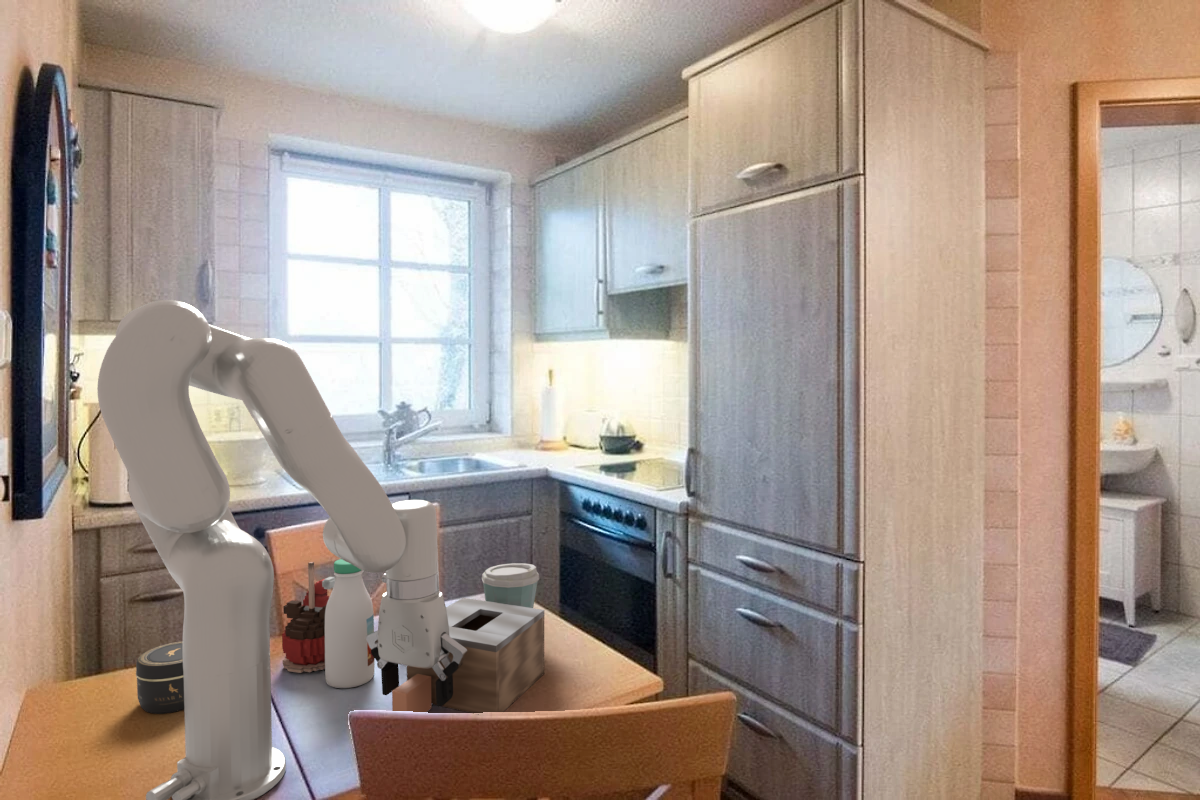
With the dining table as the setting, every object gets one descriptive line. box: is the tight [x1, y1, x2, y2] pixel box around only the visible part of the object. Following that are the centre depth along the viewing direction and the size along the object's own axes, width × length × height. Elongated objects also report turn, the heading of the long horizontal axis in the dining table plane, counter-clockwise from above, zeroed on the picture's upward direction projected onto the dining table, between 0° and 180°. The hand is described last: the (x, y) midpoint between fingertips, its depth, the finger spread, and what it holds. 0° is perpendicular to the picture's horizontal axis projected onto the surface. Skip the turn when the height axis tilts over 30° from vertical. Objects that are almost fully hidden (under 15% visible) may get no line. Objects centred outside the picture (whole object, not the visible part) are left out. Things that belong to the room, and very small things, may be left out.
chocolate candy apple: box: [281, 561, 336, 674], centre depth 120 cm, size 11×9×18 cm
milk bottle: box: [324, 558, 376, 689], centre depth 114 cm, size 8×8×20 cm
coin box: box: [406, 597, 545, 714], centre depth 112 cm, size 16×16×11 cm
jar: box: [135, 640, 184, 715], centre depth 107 cm, size 10×10×8 cm
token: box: [391, 674, 432, 713], centre depth 103 cm, size 6×2×5 cm, turn 158°
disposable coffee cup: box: [481, 562, 540, 608], centre depth 128 cm, size 11×11×15 cm
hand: (417, 696), depth 103 cm, fingers open, 9 cm apart
